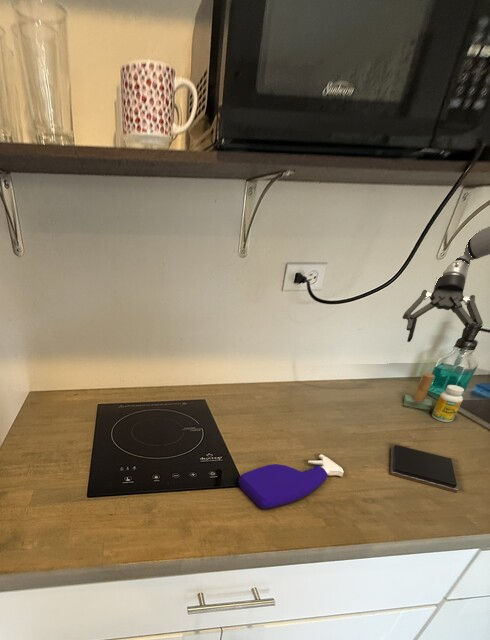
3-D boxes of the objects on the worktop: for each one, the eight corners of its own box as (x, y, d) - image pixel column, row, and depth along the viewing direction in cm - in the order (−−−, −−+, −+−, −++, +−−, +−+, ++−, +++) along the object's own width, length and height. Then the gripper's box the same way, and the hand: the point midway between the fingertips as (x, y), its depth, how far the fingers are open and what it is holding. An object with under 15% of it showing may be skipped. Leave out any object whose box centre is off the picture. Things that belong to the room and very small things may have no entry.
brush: (428, 407, 117) (442, 375, 112) (428, 412, 114) (443, 380, 109) (402, 401, 120) (414, 370, 114) (402, 407, 117) (415, 374, 111)
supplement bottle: (446, 414, 114) (461, 384, 109) (456, 423, 109) (471, 392, 104) (427, 412, 114) (440, 383, 109) (436, 421, 110) (450, 391, 104)
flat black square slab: (450, 463, 93) (453, 457, 92) (456, 493, 83) (460, 486, 83) (390, 448, 97) (392, 443, 96) (389, 474, 88) (392, 468, 87)
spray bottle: (267, 503, 74) (356, 472, 84) (234, 471, 83) (319, 447, 92) (264, 515, 76) (352, 483, 86) (232, 482, 84) (316, 457, 94)
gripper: (408, 268, 119) (392, 331, 117) (506, 277, 111) (491, 345, 108) (401, 283, 126) (386, 342, 123) (493, 292, 117) (479, 356, 115)
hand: (435, 343), depth 116 cm, fingers open, 13 cm apart
